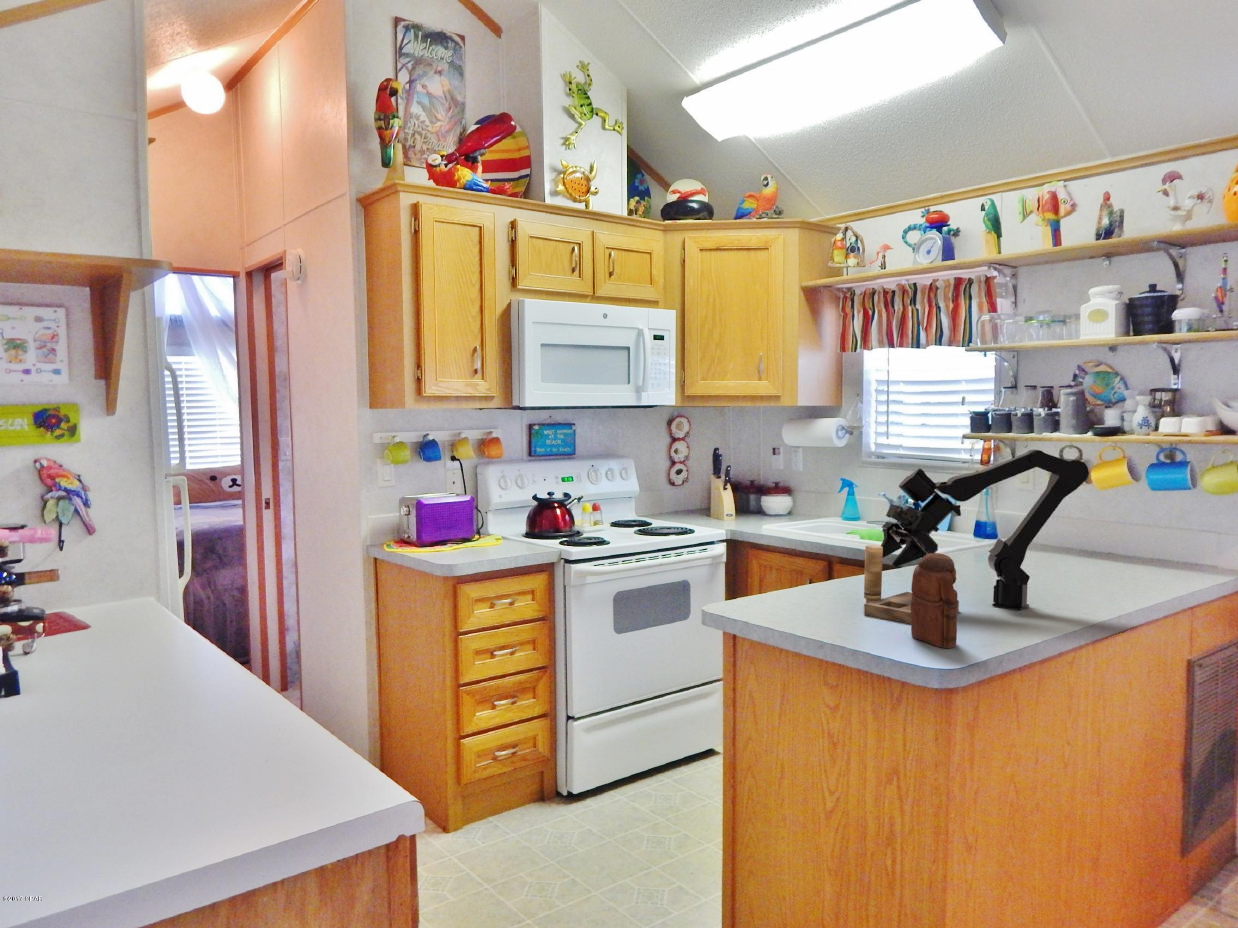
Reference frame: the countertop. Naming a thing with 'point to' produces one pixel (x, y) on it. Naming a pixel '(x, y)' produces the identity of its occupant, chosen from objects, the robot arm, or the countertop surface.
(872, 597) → the oak peg
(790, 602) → the countertop surface
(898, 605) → the walnut board
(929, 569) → the wooden figurine
